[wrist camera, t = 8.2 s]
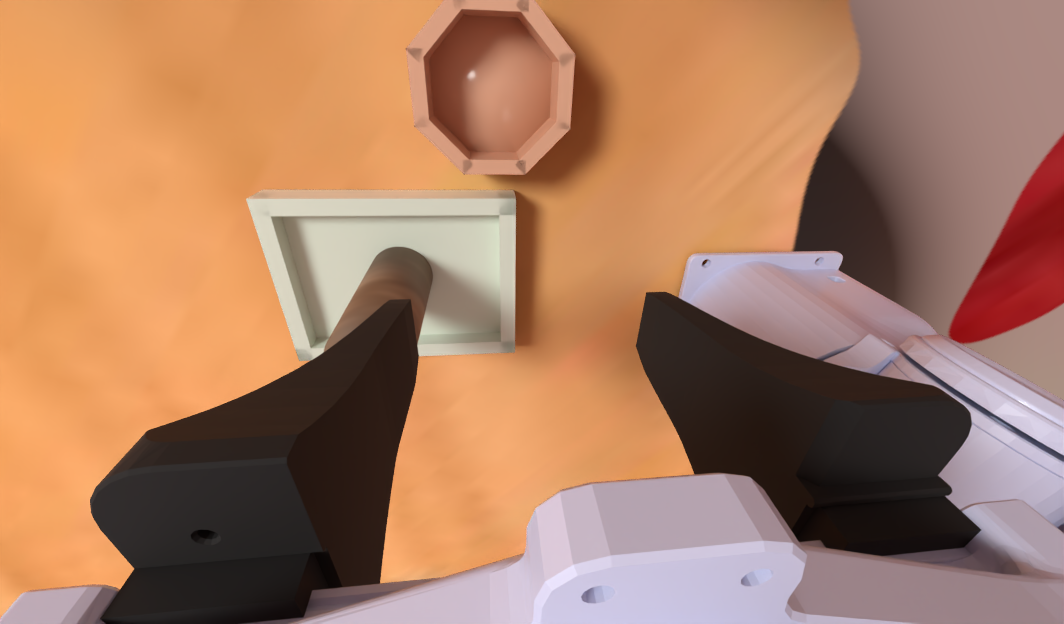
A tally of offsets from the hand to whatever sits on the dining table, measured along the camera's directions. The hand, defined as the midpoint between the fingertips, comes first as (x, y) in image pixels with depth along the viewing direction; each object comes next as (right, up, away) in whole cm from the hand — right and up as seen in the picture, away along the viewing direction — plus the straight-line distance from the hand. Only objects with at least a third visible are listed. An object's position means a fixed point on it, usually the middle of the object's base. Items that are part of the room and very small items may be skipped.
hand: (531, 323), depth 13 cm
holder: (-2, +10, +6) cm, 12 cm away
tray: (-7, +2, +10) cm, 12 cm away
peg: (-7, +2, +9) cm, 12 cm away
